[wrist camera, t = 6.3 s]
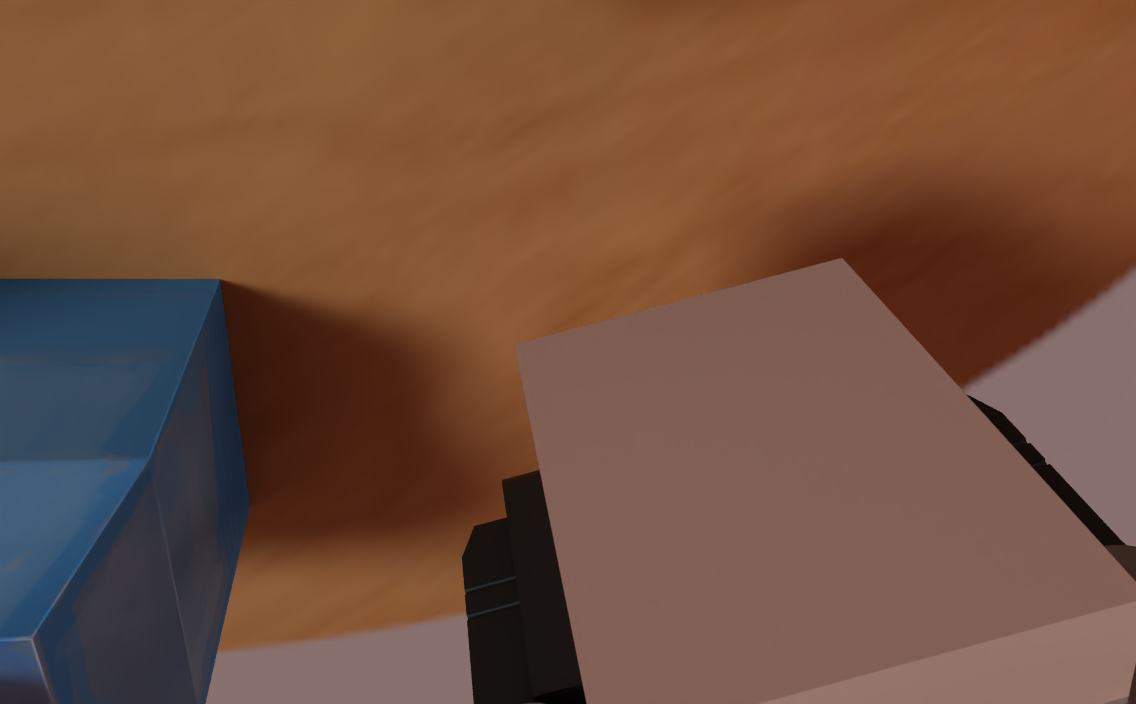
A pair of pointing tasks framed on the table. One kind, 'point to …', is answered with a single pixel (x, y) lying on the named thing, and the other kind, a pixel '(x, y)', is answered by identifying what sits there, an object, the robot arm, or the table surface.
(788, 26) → the table surface
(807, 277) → the stub
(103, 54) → the table surface
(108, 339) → the perfume bottle
